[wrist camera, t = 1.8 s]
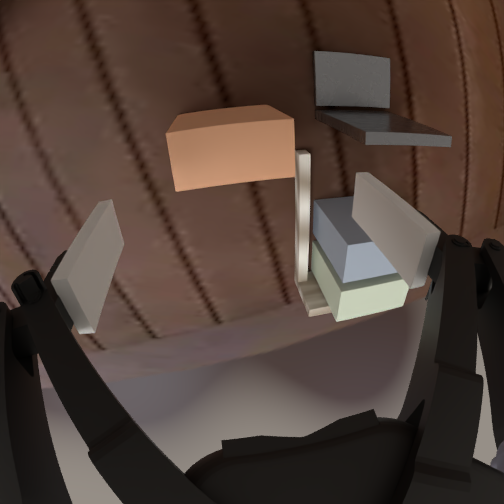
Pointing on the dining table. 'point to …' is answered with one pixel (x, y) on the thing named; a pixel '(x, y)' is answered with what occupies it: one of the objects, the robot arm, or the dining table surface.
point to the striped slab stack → (305, 239)
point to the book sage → (356, 289)
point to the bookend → (365, 101)
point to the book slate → (347, 241)
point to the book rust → (231, 146)
